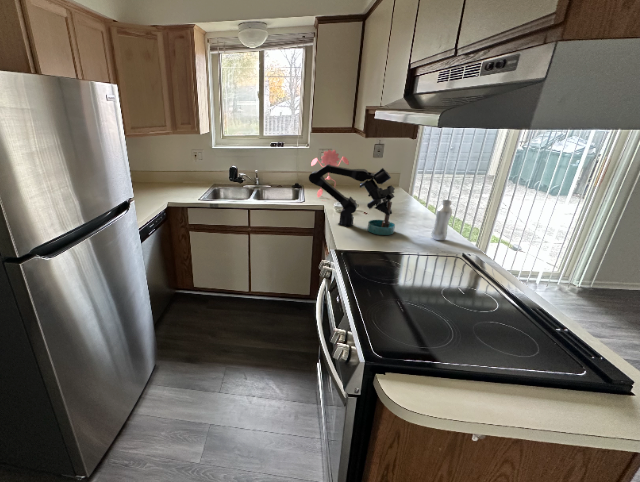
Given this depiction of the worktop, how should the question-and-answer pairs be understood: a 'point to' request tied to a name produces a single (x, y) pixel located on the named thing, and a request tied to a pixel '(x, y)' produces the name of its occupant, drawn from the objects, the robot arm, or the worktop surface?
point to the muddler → (387, 216)
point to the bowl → (380, 227)
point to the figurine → (329, 159)
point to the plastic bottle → (442, 221)
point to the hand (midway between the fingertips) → (390, 214)
